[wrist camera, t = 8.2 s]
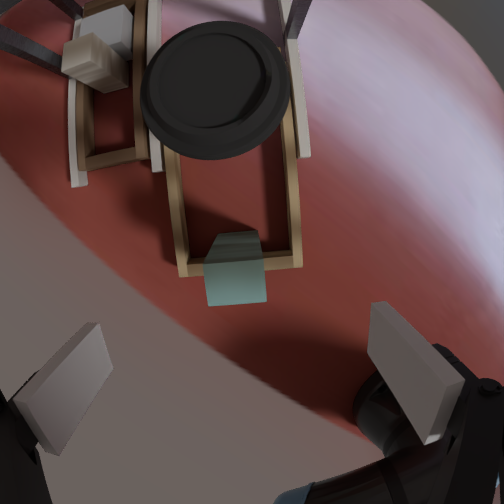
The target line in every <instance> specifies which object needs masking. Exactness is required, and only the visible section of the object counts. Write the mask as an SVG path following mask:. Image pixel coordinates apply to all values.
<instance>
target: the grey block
mask: <svg viewBox="0 0 504 504" xmlns="http://www.w3.org/2000/svg"><path fill="white" fill-rule="evenodd" d="M134 19H135V18H134V17H133V15H132V14H131V13H130V11H129V10H128V9H127V8H126V6H125V5H124V4H123V5H120V6H117V7H114V8H111V9H108V10H105V11H102V12H99V13H97V14H94V15H91V16H89V17H86V18H84V19H82V20H81V27H80V35H79V37H81V36H84V35H86V34H89V33H92V32H93V33H94V34H96V35H97V36H98V37H99V38H100V39H101V40H103V41H104V42H105V43H106V44H107V45H108V46H109V47H111V48H112V49H113V50H114V51H115V52H116V53H117V54H119V55H120V56H121V57H122V58H123V59H124V60H125V61H128V60H132V59H133V38H134Z"/></svg>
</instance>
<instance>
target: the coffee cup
mask: <svg viewBox="0 0 504 504" xmlns="http://www.w3.org/2000/svg"><path fill="white" fill-rule="evenodd" d="M289 99H290V79H289V74H288V70H287V67H286V63H285V60H284V58H283V56H282V54H281V52H280V51H279V49H278V48H277V46H276V45H275V44H274V43H273V42H272V41H271V40H270V39H269V38H268V37H267V36H266V35H265V34H263V33H262V32H260V31H258V30H257V29H255V28H253V27H250V26H248V25H245V24H241V23H237V22H231V21H212V22H206V23H201V24H198V25H195V26H192V27H189V28H187V29H185V30H183V31H181V32H179V33H178V34H176V35H174V36H173V37H172V38H170V39H169V40H168V41H167V42H165V43H164V44H163V45H162V46H161V47H160V48H159V49H158V51H157V52H156V53H155V54H154V56H153V57H152V59H151V60H150V62H149V64H148V65H147V67H146V70H145V72H144V75H143V78H142V81H141V87H140V107H141V111H142V115H143V118H144V120H145V123H146V124H147V126H148V128H149V130H150V131H151V132H152V134H153V135H154V136H155V137H156V138H157V139H158V140H159V141H160V142H161V143H162V144H164V145H165V146H166V147H168V148H169V149H171V150H173V151H174V152H176V153H178V154H181V155H183V156H186V157H190V158H194V159H201V160H220V159H226V158H231V157H235V156H238V155H241V154H243V153H245V152H247V151H250V150H251V149H253V148H255V147H256V146H258V145H259V144H261V143H262V142H263V141H265V140H266V139H267V138H268V137H269V136H270V135H271V134H272V133H273V132H274V131H275V129H276V128H277V127H278V125H279V124H280V122H281V121H282V119H283V117H284V115H285V113H286V110H287V107H288V104H289Z"/></svg>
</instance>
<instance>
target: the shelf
mask: <svg viewBox="0 0 504 504" xmlns="http://www.w3.org/2000/svg"><path fill="white" fill-rule="evenodd" d="M20 1H22V0H0V14H2V13H3V12H5V11H6V10H8V9H9V8H11V7H12V6H14V5H15V4H17V3H18V2H20ZM49 1H51V2H52V3H53V4H54V5H56V6H57V7H58V8H60V9H61V10H62V11H63V12H65V13H66V14H67V15H68V16H70V17H71V18H72V19H73V20H75V21H76V20H78V19H81V18H82V16H83V8H82V7H81V6H80V5H78V4H77V3H76V2H75V1H74V0H49ZM311 2H312V0H293V1H292V5H291V8H290V12H289V16H288V19H287V23H286V26H285V29H286V36H287V39H297V38H298V35H299V33H300V30H301V27H302V25H303V22H304V20H305V17H306V15H307V12H308V9H309V7H310V4H311ZM283 39H284V46H285V30H284V34H283ZM0 49H1V50H4V51H6V52H9V53H11V54H13V55H16V56H18V57H21V58H23V59H25V60H28V61H30V62H32V63H34V64H37V65H39V66H41V67H43V68H46V69H48V70H50V71H52V72H54V73H56V74H59V75H61V76H63V77H65V78H67V79H71V78H73V77H71V76H69V75H67V74H65V73H63V72H61V68H62V56H60V55H58V54H56V53H54V52H53V51H51V50H49V49H47V48H45V47H44V46H42V45H40V44H38V43H36V42H34V41H32V40H31V39H29V38H27V37H25V36H23V35H21V34H19V33H17V32H15V31H13V30H11V29H9V28H7V27H5V26H3V25H1V24H0Z"/></svg>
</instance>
